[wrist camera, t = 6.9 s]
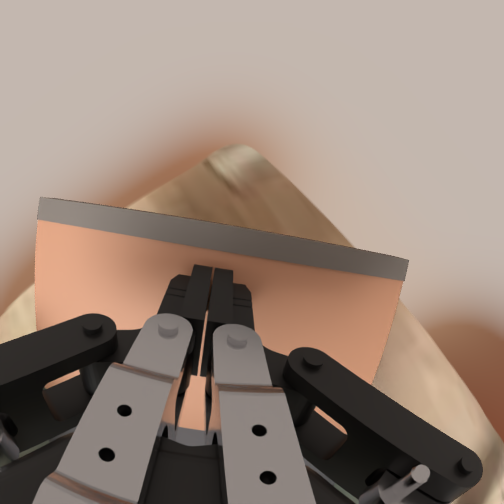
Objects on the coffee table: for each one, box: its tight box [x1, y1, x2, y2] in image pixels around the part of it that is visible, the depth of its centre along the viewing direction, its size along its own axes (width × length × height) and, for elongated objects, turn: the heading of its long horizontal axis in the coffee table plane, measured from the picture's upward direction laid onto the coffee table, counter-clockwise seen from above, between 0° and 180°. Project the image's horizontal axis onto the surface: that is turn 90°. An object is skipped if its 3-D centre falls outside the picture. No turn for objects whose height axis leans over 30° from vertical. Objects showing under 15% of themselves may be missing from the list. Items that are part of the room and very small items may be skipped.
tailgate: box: [35, 197, 409, 434], centre depth 12 cm, size 1×17×10 cm
